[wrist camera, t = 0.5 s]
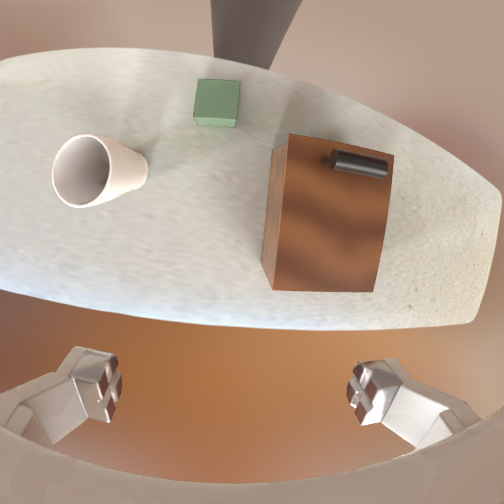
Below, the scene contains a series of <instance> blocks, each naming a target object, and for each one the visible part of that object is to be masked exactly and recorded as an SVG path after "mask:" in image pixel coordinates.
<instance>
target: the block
mask: <svg viewBox="0 0 504 504" xmlns="http://www.w3.org/2000/svg"><path fill="white" fill-rule="evenodd" d="M239 91H240V81H232V80H217V79H198V82H197V90H196V97H195V105H194V113H193V118H194V120H195V122H196V124H197V125H211V126H227V127H235V124H236V119H237V109H238V100H239Z"/></svg>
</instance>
